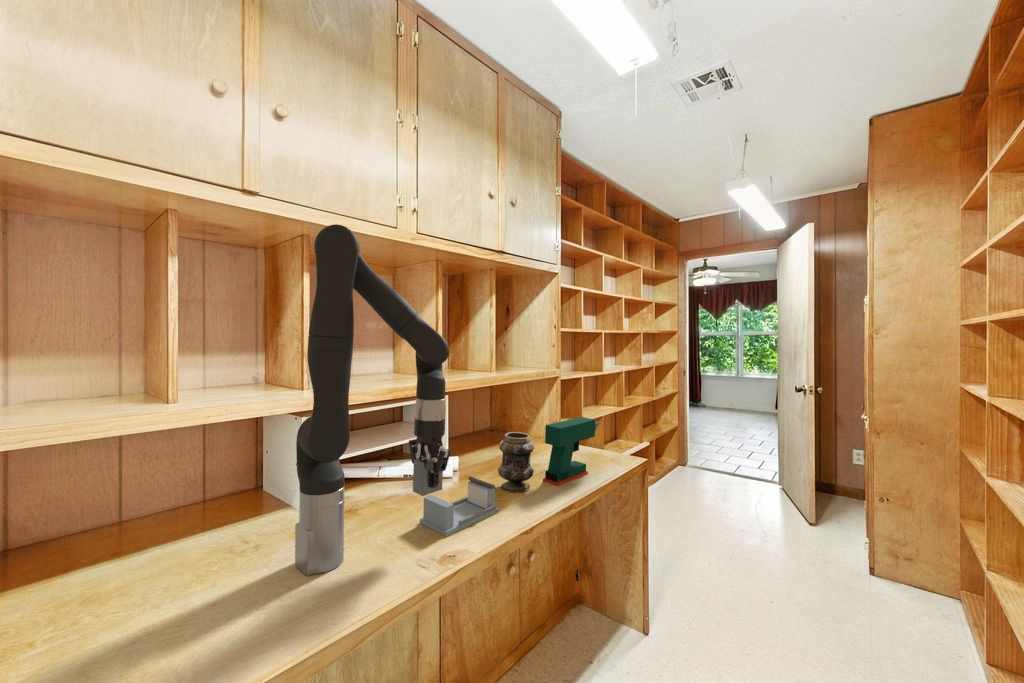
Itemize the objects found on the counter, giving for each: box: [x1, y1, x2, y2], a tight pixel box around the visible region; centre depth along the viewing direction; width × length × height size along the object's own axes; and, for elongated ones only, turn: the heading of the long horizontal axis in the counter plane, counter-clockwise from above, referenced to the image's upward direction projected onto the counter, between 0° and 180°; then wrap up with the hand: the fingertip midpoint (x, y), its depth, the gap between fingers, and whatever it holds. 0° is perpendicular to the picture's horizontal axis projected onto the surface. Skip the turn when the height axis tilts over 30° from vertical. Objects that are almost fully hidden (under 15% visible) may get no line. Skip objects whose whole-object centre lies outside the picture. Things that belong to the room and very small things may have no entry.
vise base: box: [419, 494, 500, 537], centre depth 120 cm, size 20×11×7 cm, turn 140°
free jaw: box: [466, 475, 496, 509], centre depth 127 cm, size 3×10×7 cm, turn 50°
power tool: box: [542, 416, 602, 487], centre depth 159 cm, size 32×7×20 cm, turn 136°
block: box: [412, 457, 444, 497], centre depth 106 cm, size 4×6×8 cm, turn 140°
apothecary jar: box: [497, 431, 535, 494], centre depth 144 cm, size 12×12×18 cm
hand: (427, 484), depth 106 cm, fingers closed on block, 4 cm apart
